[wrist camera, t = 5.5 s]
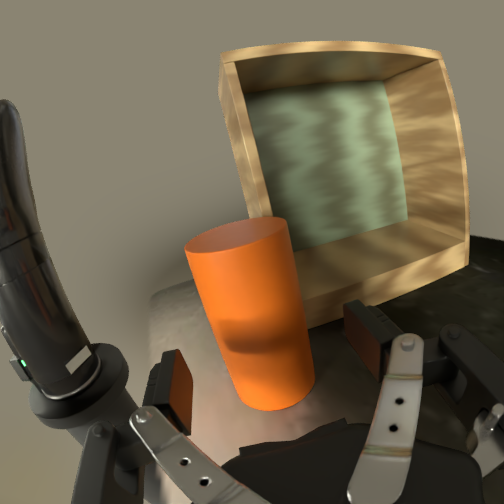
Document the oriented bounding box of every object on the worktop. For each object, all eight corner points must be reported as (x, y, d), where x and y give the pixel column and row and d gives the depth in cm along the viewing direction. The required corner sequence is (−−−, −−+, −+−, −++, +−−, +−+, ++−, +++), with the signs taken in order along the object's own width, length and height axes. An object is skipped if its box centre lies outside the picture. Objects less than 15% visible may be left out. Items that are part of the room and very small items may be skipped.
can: (241, 419, 16) (177, 263, 12) (234, 367, 21) (188, 234, 18) (326, 395, 16) (299, 230, 13) (302, 347, 21) (274, 211, 18)
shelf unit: (289, 335, 23) (220, 52, 16) (265, 281, 35) (218, 92, 28) (468, 264, 24) (440, 51, 17) (410, 237, 36) (382, 74, 29)
